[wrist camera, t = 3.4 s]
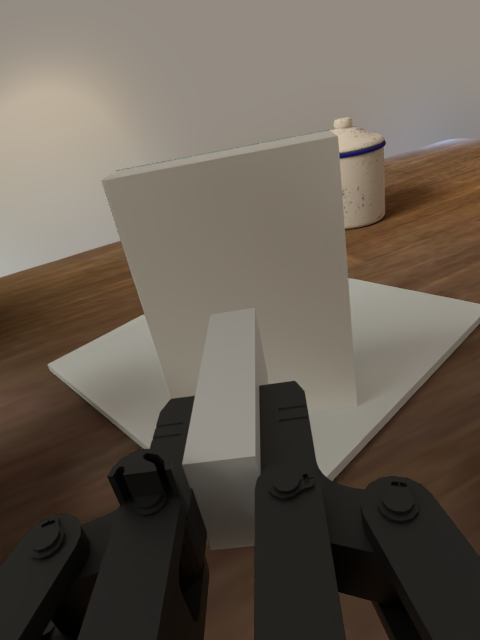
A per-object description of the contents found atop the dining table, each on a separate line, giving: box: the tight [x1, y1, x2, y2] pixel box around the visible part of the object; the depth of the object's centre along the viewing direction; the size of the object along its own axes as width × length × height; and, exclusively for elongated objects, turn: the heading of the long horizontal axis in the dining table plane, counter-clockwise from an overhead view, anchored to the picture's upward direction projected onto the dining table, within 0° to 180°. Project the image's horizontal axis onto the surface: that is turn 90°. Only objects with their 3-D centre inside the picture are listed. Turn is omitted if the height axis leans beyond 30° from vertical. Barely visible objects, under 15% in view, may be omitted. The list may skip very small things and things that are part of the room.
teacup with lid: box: [331, 117, 386, 229], centre depth 52 cm, size 12×9×12 cm
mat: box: [47, 278, 480, 481], centre depth 33 cm, size 24×23×1 cm
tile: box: [102, 130, 357, 412], centre depth 23 cm, size 2×10×14 cm, turn 88°
